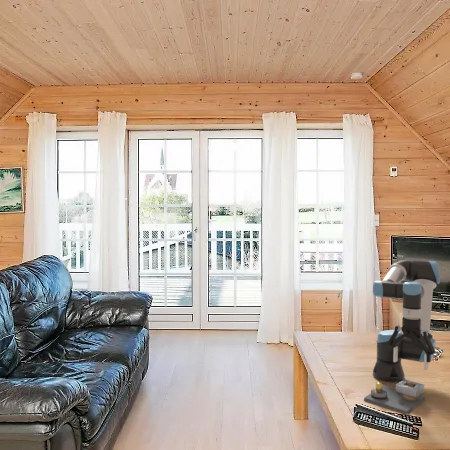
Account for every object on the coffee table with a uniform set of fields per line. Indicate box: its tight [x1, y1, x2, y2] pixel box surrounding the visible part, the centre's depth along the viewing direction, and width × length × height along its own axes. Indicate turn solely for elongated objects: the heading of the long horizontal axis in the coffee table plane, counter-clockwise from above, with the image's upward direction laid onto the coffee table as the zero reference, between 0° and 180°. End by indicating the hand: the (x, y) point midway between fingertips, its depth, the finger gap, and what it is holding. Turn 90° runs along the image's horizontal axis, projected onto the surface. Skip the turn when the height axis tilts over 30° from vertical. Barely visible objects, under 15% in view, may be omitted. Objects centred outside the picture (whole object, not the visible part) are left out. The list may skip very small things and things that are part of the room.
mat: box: [363, 385, 426, 415], centre depth 202 cm, size 20×19×1 cm
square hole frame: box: [395, 379, 425, 397], centre depth 201 cm, size 9×9×3 cm
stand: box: [403, 381, 417, 401], centre depth 201 cm, size 6×6×7 cm
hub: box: [370, 381, 387, 400], centre depth 203 cm, size 7×7×6 cm
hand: (410, 365), depth 201 cm, fingers open, 13 cm apart
